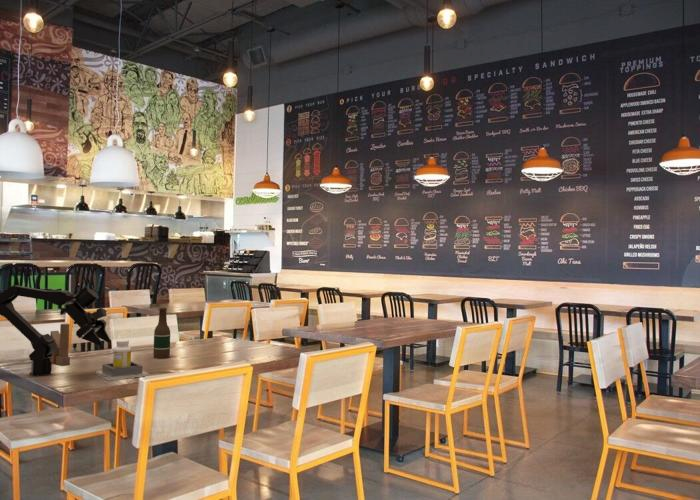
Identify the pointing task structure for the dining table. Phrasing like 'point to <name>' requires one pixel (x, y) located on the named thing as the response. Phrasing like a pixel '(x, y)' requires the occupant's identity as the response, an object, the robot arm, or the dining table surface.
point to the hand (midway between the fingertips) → (105, 343)
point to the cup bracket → (121, 372)
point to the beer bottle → (162, 336)
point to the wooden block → (61, 346)
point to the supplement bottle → (122, 354)
